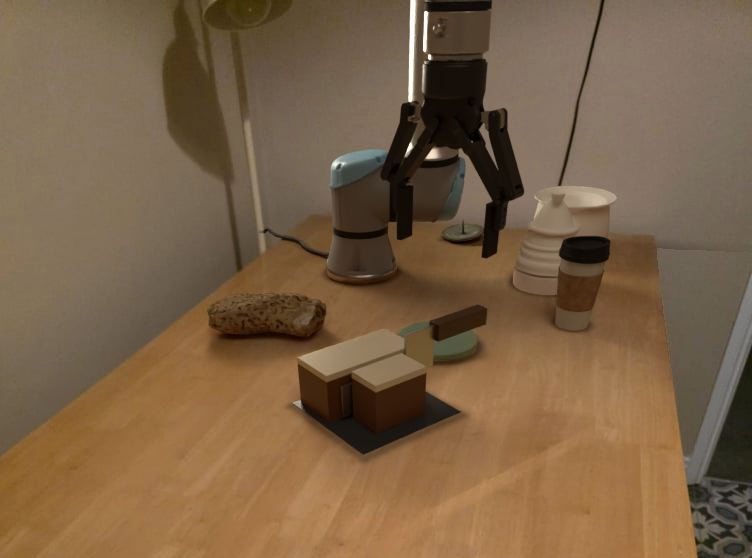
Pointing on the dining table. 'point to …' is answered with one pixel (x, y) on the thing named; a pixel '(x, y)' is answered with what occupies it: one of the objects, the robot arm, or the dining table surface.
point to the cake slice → (388, 392)
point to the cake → (341, 369)
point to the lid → (462, 232)
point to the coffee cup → (579, 279)
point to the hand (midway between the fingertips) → (445, 246)
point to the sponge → (267, 314)
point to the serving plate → (448, 343)
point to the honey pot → (544, 247)
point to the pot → (583, 207)
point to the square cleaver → (428, 342)
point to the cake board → (371, 441)
